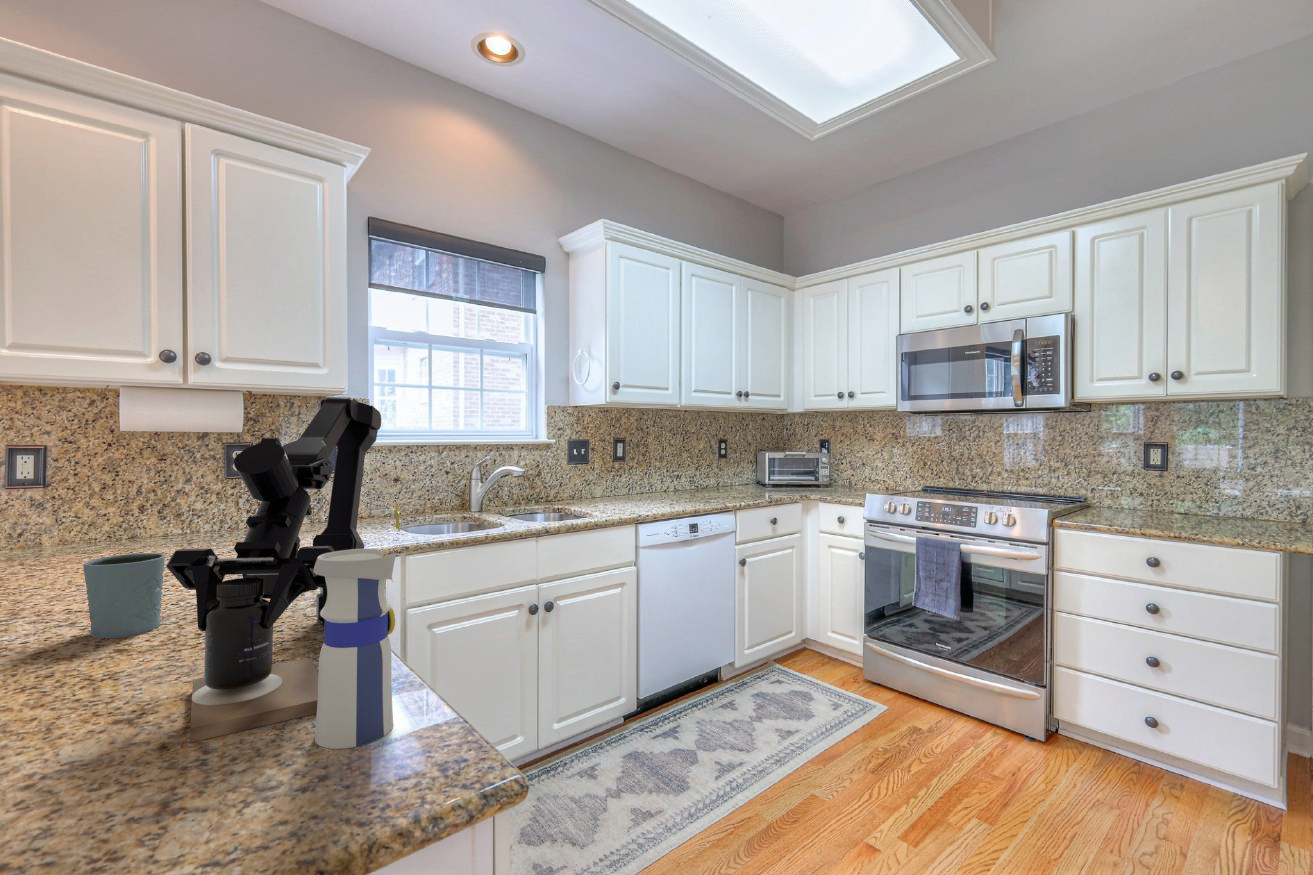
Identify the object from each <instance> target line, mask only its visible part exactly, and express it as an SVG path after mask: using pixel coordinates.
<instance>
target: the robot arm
mask: <svg viewBox="0 0 1313 875" xmlns="http://www.w3.org/2000/svg"><path fill="white" fill-rule="evenodd" d="M381 427H382V414H381V412H380V410H378V409H377V408H376V407H375V406H374V405H370V404H366V403H363V402H361V401H357V400H356V399H355V398H351V397H345V396H343V397H342V396H337V397H336V396H327V397H325V398H322V399H321V401H320V405H319V410H317V412H316V413H315V415H314V416H313V418H312V419H311V421H310V422H309V424H308V425H307V427H306V428H305V429H304V431H303V432H302V434H301V435H300V437H298V438H297V440H294V441H291V442H288V443H286V444H283V445H282V443H281V441H280V439H279V438H278V437H262V439H261V440H260V442H259V443H256V444H252V445H251V446H248V447H246V448H245V449H244V450H242V451H241V452H240V453H238V454H236V455H235V457H234V460H233V466H234V467H235V468H234V469H236V471H237V473H238V475H239V477H240V478H241V480H242V482H243V484H244V486H245V487H246V489H247V491H248V493H249V495H250V497H251V498H252V499H254V500H257V501H260V503H259V506H258V508H257V511H256V513H255V515H254V516H253V515H249V516H248V517H247V519H246V521H245V523H246V525H247V527H248V528H249V529H248V531H247V532H246V534H245V537H244V539H243V541H236V543H235V545H234V547H233V550H234V551H235V553H236V556H235V558H234V557H233V558H232V557H231V558H230V557H229V558H224V557H223V558H219V557H218V556H217V554H216V553H215V552H214V550H213V548H212V547H211V548H210V547H209V548H206V547H205V548H204V547H203V548H181V549H177V550H175V551H174V552H173V553H172V555H171V556H170V558H169V560H168V561H167V564H166V565H165V567H166V568H167V569H168V571H169V572H170V573H171V574H172V575H173V577H175V579H176V580H177V582H179V584H180V585H181V586H182V588H184V589H187V590H190V591H192V590H193V591H195V595H196V596H195V597H196V615H197V616H196V618H197V629H198V630H199V631H200V632H205V620H206V614H207V612H208V611H209V610H210V609H211V608H212V607H213V606H215V605H216V604H218V600H216V594H217V584H218V583H220V582H222V581H224V579H225V577H226V576H229V575H230V576H231V575H233V576H234V575H235V576H236V575H241V576H242V578H262V579H264V590H265V594H264V595H263V596H262V598H263V599H265V600H268V599H269V600H268V601H269V604H268V607H267V610H266V613H265V618H264V623H263V626H264V627H265V629H269V628H270V627H271V626H272V625H273V626H274V624H275V623H276V621H277V620H278V619H279V618H280V617H281V616H282V615H283V613H284V612H285V611H286V610H287V609H288V608H289V607H290V605H291V604H293V602H294V601H295V600H296V599H297V598H299V596H300V595H302V594H305V593H307V592H312V591H316V590H318V589H319V588H320V589H319V592H320V593H317V594H316V607H315V609H316V611H315V612H316V613H315V615H316V619H317V621H319V622H320V624H321V625H322V626H323V627H324V620H325V619H324V618H323V617H321V615H320V612H321V610H322V609H323V608H324V606H325V604H326V600H327V585H326V580H325V576H320V575H317V574H315V573H314V572H313V570H314V566H315V563H316V561H317V558H318V556H320V555H322V554H325V553H329V552H335V551H342V550H351V549H365V543H364V541H363V540H362V538H361V536H360V534H359V532H358V530H357V526H358V518H359V509H360V501H361V491H362V482H363V475H364V468H365V467H364V466H365V458H366V457H365V456H366V453H367V452H368V451H369V450H370V448H371V447H372V446H373V445H374V444H375V442H376V440H377V438H378V431H379V430H380V429H381ZM334 448H336V455H335V456H336V458H335V464H334V468H333V466H332V462H331V461H330V457H331V456H330V455H331V454H332V452H333V450H334ZM333 469H334V470H333ZM333 471H334V472H333ZM332 475H333V477H332V487H331V495H330V502H329V509H328V516H327V523H326V527H325V529H324V530H323V531H322V532H321V533H320V534H316V535H315V536H314V537H313V540H312V546H311V545H310V546H302V547H300V546H301V544H300V543H301V541H302V540H301V539H300V537H299V534H300V530H301V528H302V525H303V523H304V520H305V517H306V516H312V513H313V508H312V506H311V501H312V498H311V495H310V493H309V492H308V491H307V490H321V489H323V488H325V486H326V484H327V482H329V481H330V479H331V476H332Z"/></svg>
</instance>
